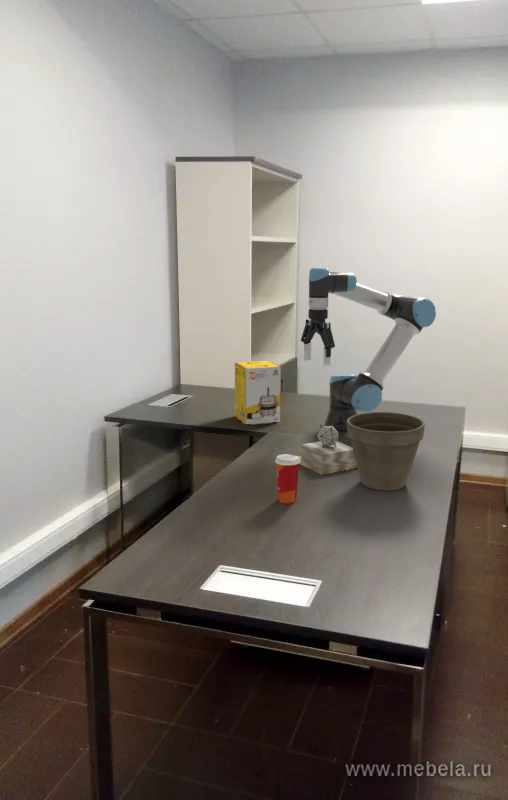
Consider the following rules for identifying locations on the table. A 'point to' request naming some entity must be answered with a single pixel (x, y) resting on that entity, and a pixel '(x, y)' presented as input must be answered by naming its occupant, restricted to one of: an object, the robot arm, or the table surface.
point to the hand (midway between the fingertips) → (316, 362)
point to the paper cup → (287, 477)
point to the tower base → (327, 457)
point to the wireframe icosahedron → (328, 435)
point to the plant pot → (384, 447)
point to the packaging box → (257, 392)
